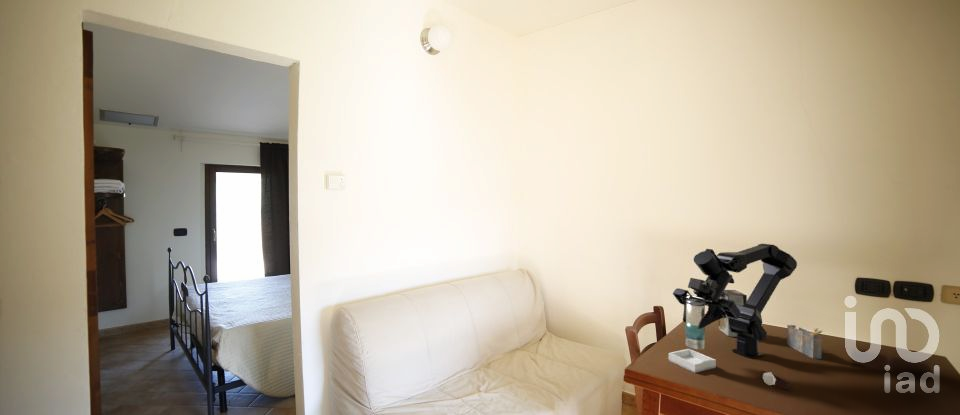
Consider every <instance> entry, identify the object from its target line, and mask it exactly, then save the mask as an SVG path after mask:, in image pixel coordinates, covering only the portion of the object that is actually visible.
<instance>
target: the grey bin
mask: <svg viewBox="0 0 960 415" xmlns="http://www.w3.org/2000/svg"><path fill="white" fill-rule="evenodd" d="M668 362H670V363H672V364H676V365H677V366H679V367H681V368H684V369H686V370H688V371H690V372H692V373H695V374H696V373H699V372H704V371H707V370H713V369H716V368H717V367H716V362H717V360H716V359H715V358H712V357H710V356H707V355H705V354H702V353H701V352H698V351H696V350H694V349H692V348H686V349H680V350H676V351H671V352H668Z"/></svg>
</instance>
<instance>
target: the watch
mask: <svg viewBox="0 0 960 415" xmlns="http://www.w3.org/2000/svg"><path fill="white" fill-rule="evenodd" d="M760 378H762V379H763V382H764V383H765V384H766V385H768V386H772V385H774V386H776V387H779V388H780V389H783V390H789V387H790V383H789V382H788V381H786V380H785V379H783V378H781V377H779V376H777V375H775V374H773V373H772V372H771V371H770V372H768V371H764V370H761V372H760Z"/></svg>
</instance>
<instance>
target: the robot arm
mask: <svg viewBox="0 0 960 415" xmlns="http://www.w3.org/2000/svg"><path fill="white" fill-rule="evenodd" d="M758 261H760V262H762V268H763V273H762V275H761V276H760V279H759V280H758V282H757V284H755V287H754V288H753V290H752V291H751V293H750V295H749V296H748V297H747V301H746V303H745V304H744V305H742V306H740V305H736V304H735V303H734V301H731V300H726V299H722V298H721V299H720V297H724V296H725V294H724V293H723V292H724V290H726V288H727V286H728V284H734V283H735V280H734V277H733V275H732V274H730V272H732V273H741V272H743V271H744V270H746V269H747V268H748V265H750V264H753V263H756V262H758ZM693 262H694V264H695V266H697V268H698V269H699V271H701V273H702V274H703V275H704V276H707V277H706V278H705V280H704V279H700V278H694V277H690V279H689V282H688V285H687V288H688V289H691V290H693V293H694V295H695V296H694V295H692V294H691V293H690V291H689V290H687V289H683V288H675V289H674V290H673V292H672V295H673V297H674V298H675V299H676V300H677V302H678V303H679V304H681V305H683V315H682V316H683V317H682V321H683V322H684V323H686V299H699V300H703V301H705V307H706V306H707V311H706V312H705V316H704V318H703V320H702V321H701V324H700V327H701V328H703V327H705V328H706V327H707V326H709V325H711V324H712V323H714V322H716V321H719V319H721V318H726V316H725V315H727V316H728V317H729V318H728V322H729V326H730V330H731V332H734V333H737V334H738V335H737V337H736V348H734V349H733V348H732V349H731V351H732V352H734V353H737V354H738V355H741V356H744V357H747V358H750V359H754V358H755V359H756V358H759V357H763V356H764V353H762V352H759V342H760V341H765V339H767V334H768V332H767V331H766V330H765V328H764V327H763V326H762V324H763V317H762V312H763V310H764V308H766V306H767V303H768V302H769V300H770V299H771V297H772V295H773V294H774V292H775V290H776V288H777V287H778V285H779V283H780V282H781V280H784V279H786V278H788V277H790V276H791V275H792V274H793V273H794V271H795V270H796V269H797V266H798V262H797V260H796V259H795V258H794V256H792V255H791V254H790V253H787V252H786V251H784V250H782V249H780V248H779V246H777V245H775V244H772V243H771V244H769V243H759V244H757V245H755V246H752V247H749V248H746V249H743V250H740V251H739V250H738V251H735V252H733V251H727V252H725V251H723V252H719V253H718V254H717V255H716V252H715V251H714V249H711V248H706V249H705V250H703V251H701V252H698V253H697V254H695V255H694V257H693Z"/></svg>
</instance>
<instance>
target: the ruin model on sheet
mask: <svg viewBox="0 0 960 415" xmlns="http://www.w3.org/2000/svg"><path fill="white" fill-rule="evenodd" d="M786 326H787V329H786V346H788V347H789V348H791V349H794V350H796V351H798V352H800V353H802V354H803V355H806V357H809V358H811V359H815V360H817V359H818V360H819V359H820V360H822V350H823V349H822V347H823V341H822V340H823V337H822V336H820V335H819V334H822V333H823V330H819V328H814V330H813V331H812V332H811V331H810V330H807V329H804V328H802V327H798V328H797V325H795V324H793V325H792V324H787V325H786ZM818 335H819V336H818Z"/></svg>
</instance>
